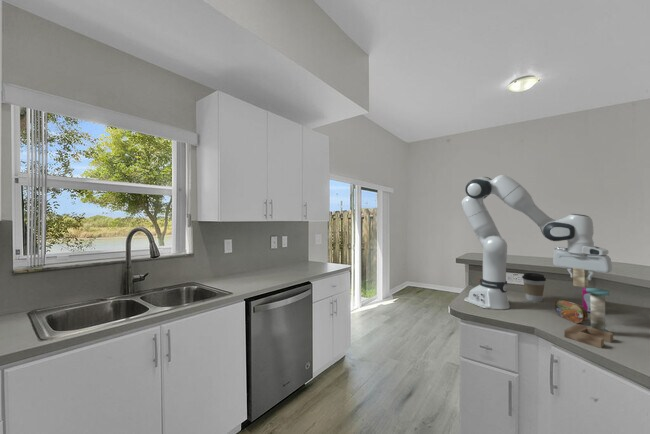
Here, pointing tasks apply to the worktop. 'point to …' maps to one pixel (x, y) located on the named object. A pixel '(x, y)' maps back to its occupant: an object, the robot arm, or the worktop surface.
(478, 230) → the robot arm
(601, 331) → the notched board
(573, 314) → the tin
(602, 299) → the bobbin post
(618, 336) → the worktop surface
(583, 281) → the maple block
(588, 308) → the supplement box
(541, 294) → the coffee cup
